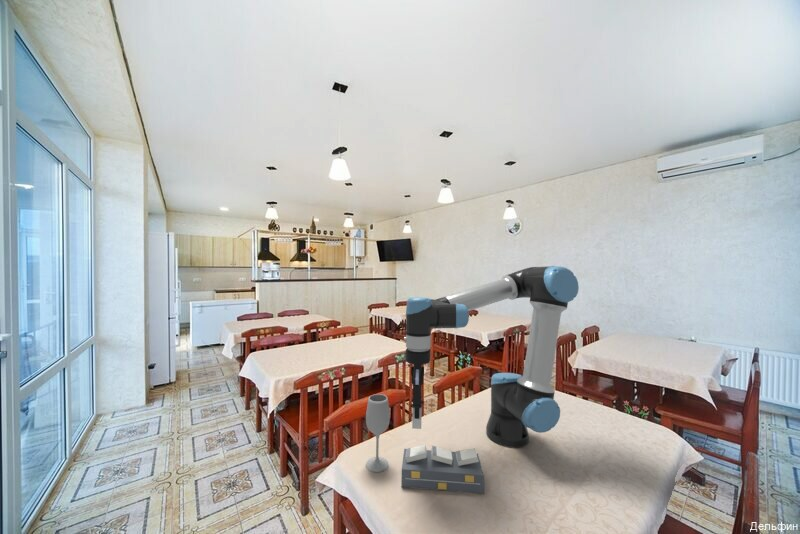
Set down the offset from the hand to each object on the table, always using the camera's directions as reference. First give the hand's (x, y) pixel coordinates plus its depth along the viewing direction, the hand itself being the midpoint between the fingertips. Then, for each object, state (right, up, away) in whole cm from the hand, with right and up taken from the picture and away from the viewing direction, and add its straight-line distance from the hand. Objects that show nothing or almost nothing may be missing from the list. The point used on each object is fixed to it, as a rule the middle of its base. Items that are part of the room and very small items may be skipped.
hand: (416, 427), depth 89 cm
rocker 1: (0, -8, 0) cm, 8 cm away
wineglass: (-12, -15, +5) cm, 20 cm away
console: (+7, -15, -1) cm, 16 cm away
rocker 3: (+15, -8, -1) cm, 17 cm away
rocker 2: (+7, -8, -1) cm, 11 cm away
